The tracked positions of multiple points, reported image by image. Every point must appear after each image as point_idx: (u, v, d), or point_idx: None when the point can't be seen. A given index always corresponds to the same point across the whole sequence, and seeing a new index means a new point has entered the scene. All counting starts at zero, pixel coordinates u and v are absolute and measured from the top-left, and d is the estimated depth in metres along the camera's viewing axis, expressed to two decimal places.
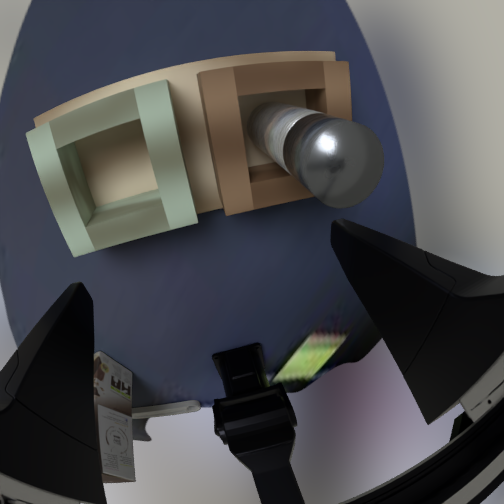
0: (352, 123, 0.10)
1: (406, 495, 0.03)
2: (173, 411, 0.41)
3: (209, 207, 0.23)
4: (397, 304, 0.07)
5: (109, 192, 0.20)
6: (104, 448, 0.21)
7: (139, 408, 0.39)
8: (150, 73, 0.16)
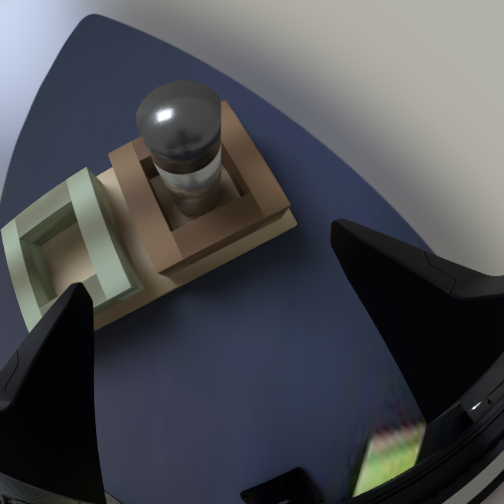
0: (168, 83, 0.12)
1: (406, 495, 0.03)
2: None
3: (160, 290, 0.21)
4: (397, 304, 0.07)
5: None
6: None
7: None
8: None
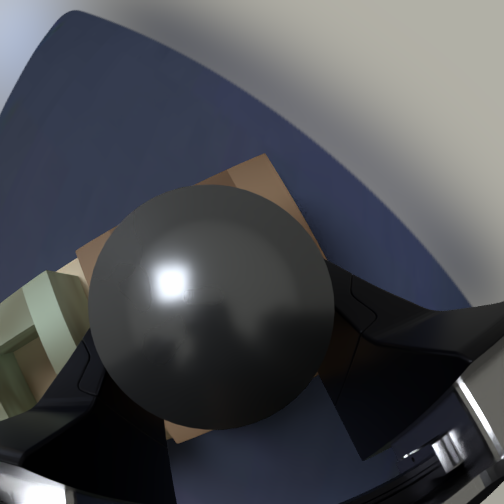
0: (165, 195, 0.04)
1: (406, 495, 0.03)
2: None
3: None
4: None
5: None
6: None
7: None
8: (59, 270, 0.14)
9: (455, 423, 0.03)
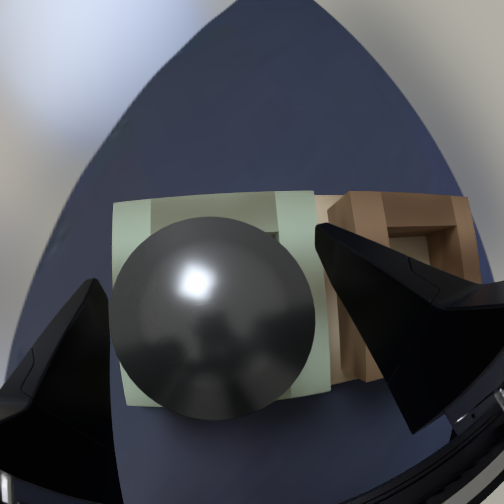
0: (172, 226, 0.05)
1: (406, 495, 0.03)
2: None
3: None
4: (379, 312, 0.07)
5: None
6: None
7: None
8: None
9: None
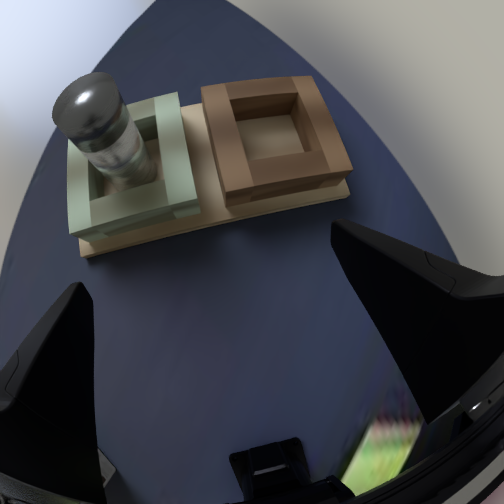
0: (76, 80, 0.12)
1: (406, 495, 0.03)
2: None
3: (215, 218, 0.22)
4: (397, 304, 0.07)
5: None
6: None
7: None
8: None
9: None
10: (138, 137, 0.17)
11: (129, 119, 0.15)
